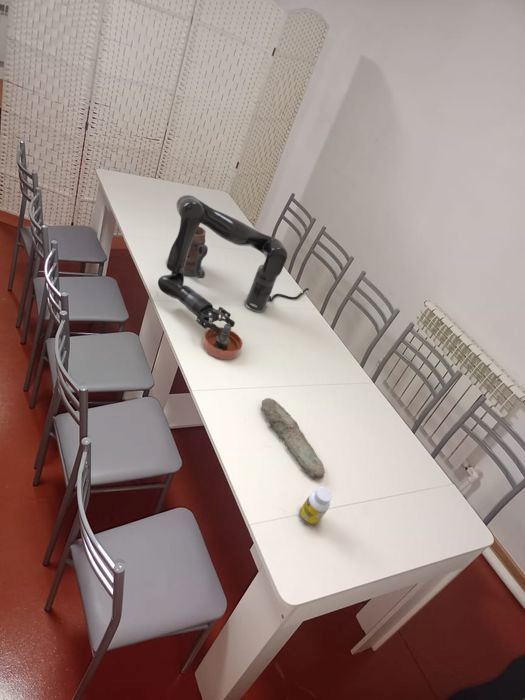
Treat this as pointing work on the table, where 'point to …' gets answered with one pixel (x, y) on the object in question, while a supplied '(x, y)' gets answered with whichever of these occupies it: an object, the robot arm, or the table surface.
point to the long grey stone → (293, 438)
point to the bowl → (232, 347)
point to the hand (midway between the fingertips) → (226, 328)
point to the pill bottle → (315, 506)
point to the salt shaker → (223, 338)
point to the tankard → (196, 255)
